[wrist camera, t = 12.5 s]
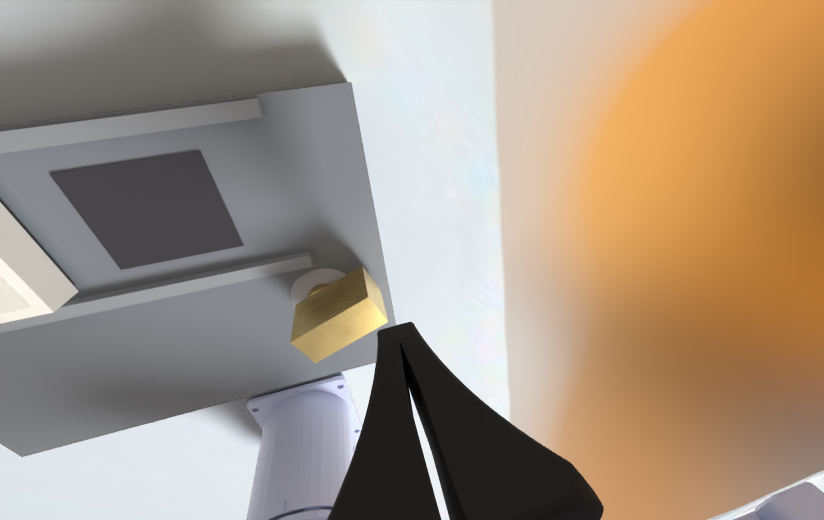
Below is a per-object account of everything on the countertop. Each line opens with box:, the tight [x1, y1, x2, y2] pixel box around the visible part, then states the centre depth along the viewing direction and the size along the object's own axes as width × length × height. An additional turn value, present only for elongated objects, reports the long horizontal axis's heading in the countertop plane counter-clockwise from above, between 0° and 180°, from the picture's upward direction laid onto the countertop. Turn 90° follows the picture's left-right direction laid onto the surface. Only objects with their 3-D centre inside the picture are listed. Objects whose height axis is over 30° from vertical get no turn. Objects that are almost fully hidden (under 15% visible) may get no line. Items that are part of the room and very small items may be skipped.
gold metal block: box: [290, 266, 388, 363], centre depth 17 cm, size 4×2×4 cm, turn 117°
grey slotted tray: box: [0, 82, 396, 457], centre depth 17 cm, size 18×25×4 cm
